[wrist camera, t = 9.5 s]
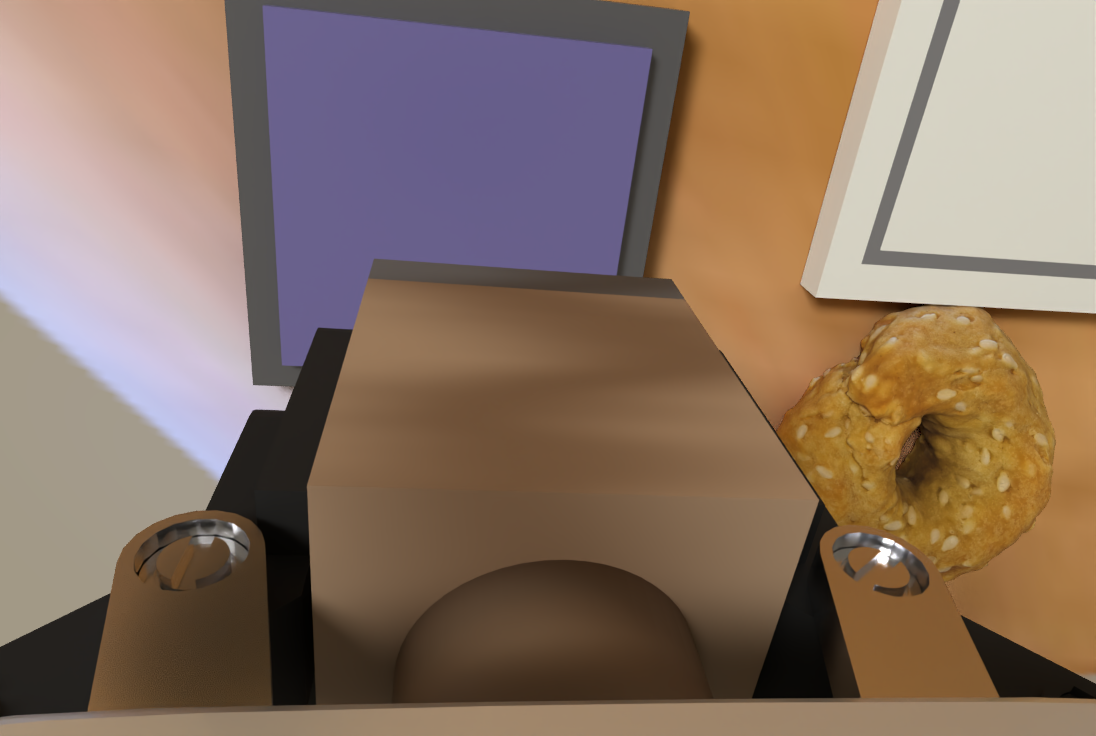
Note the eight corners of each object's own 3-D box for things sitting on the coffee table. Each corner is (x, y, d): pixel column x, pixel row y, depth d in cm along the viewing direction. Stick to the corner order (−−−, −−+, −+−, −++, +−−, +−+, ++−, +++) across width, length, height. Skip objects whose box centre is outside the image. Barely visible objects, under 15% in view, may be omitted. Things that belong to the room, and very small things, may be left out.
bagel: (1059, 298, 28) (1166, 358, 24) (951, 530, 33) (1024, 613, 29) (809, 279, 27) (876, 340, 22) (736, 526, 32) (780, 613, 27)
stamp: (671, 279, 12) (940, 682, 5) (625, 511, 14) (776, 1013, 7) (374, 258, 11) (247, 688, 4) (372, 504, 13) (284, 1048, 7)
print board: (1275, -67, 23) (1316, -69, 22) (1100, 302, 28) (1126, 314, 27) (914, -126, 21) (939, -131, 20) (800, 284, 26) (815, 297, 25)
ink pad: (677, 9, 22) (695, 12, 20) (614, 380, 27) (625, 403, 26) (232, -45, 20) (215, -46, 18) (260, 367, 25) (249, 392, 24)
